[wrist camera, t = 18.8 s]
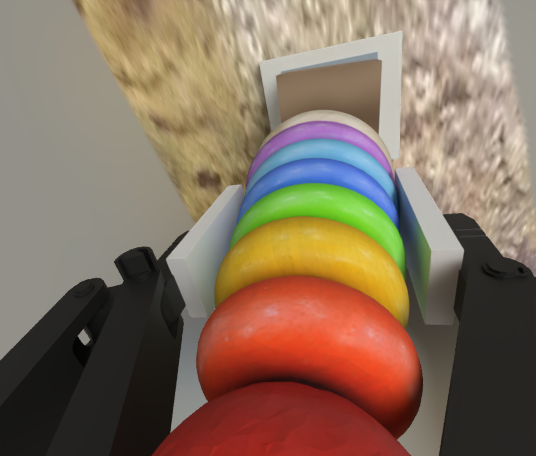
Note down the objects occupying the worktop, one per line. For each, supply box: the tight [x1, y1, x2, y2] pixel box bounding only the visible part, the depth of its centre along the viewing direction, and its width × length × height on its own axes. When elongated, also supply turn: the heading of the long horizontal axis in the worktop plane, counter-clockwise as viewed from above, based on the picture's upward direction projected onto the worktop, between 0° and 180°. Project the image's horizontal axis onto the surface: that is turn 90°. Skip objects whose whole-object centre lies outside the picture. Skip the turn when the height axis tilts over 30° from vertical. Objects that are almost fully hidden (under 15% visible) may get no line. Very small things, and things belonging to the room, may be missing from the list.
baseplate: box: [259, 31, 402, 159], centre depth 38 cm, size 14×16×2 cm
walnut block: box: [276, 59, 382, 135], centre depth 34 cm, size 10×10×7 cm
